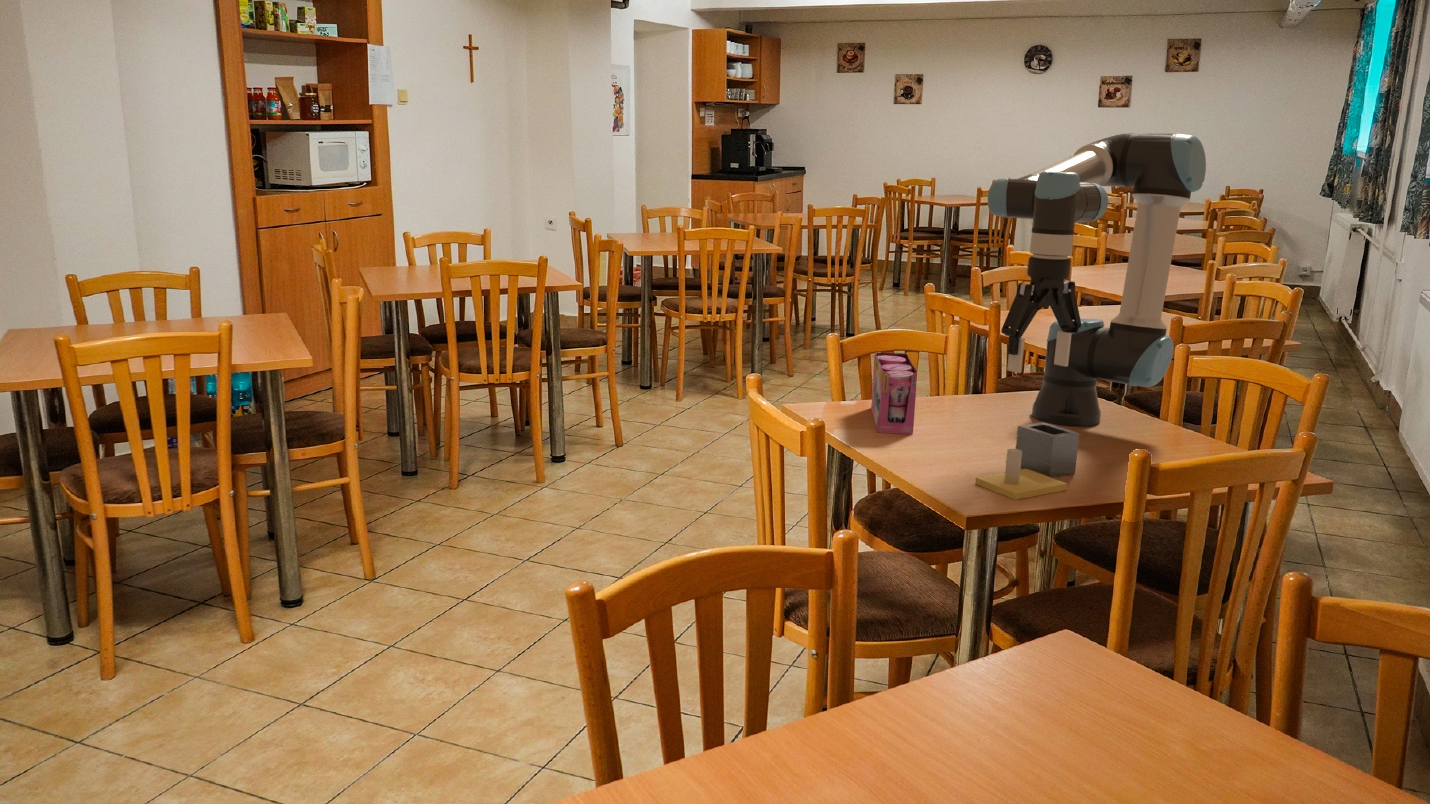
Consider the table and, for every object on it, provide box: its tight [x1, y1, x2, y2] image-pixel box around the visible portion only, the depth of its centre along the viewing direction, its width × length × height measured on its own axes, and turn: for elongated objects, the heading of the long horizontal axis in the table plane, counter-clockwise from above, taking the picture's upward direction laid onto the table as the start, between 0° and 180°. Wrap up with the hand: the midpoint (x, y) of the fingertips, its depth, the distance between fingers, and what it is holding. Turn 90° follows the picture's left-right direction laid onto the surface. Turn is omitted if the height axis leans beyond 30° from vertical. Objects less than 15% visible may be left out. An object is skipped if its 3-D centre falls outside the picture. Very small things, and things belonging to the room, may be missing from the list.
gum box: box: [870, 351, 918, 435], centre depth 236 cm, size 24×8×14 cm, turn 176°
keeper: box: [974, 448, 1068, 501], centre depth 193 cm, size 13×10×7 cm
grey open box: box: [1015, 421, 1080, 479], centre depth 204 cm, size 9×7×8 cm
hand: (1037, 368), depth 201 cm, fingers open, 13 cm apart
